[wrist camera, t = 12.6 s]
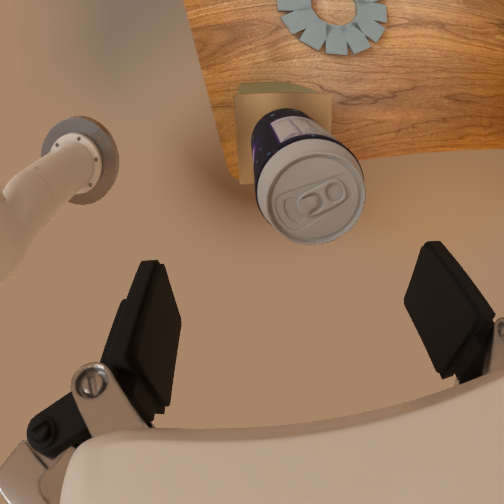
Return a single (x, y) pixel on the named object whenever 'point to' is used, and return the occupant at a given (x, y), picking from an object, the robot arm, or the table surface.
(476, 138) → the table surface
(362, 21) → the trivet
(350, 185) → the beverage can
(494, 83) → the table surface
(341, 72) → the table surface
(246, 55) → the table surface
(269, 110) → the stand
